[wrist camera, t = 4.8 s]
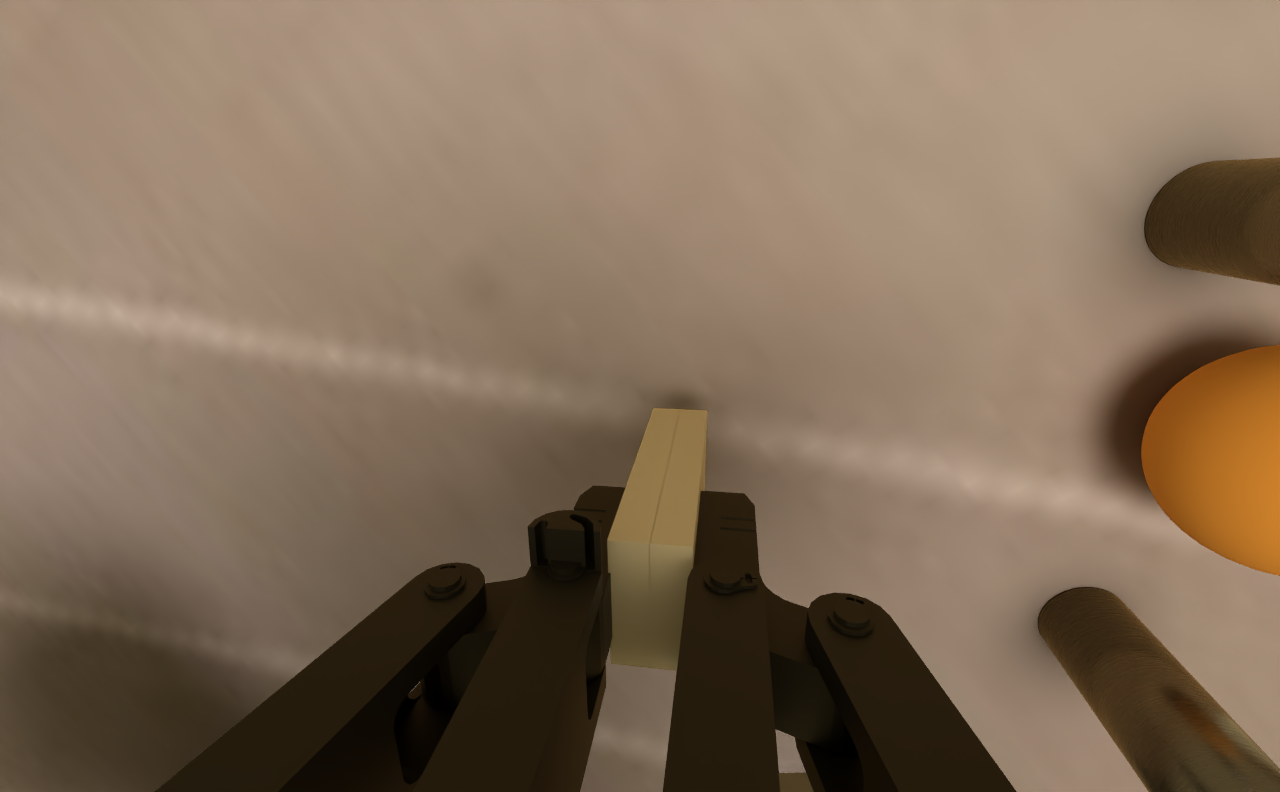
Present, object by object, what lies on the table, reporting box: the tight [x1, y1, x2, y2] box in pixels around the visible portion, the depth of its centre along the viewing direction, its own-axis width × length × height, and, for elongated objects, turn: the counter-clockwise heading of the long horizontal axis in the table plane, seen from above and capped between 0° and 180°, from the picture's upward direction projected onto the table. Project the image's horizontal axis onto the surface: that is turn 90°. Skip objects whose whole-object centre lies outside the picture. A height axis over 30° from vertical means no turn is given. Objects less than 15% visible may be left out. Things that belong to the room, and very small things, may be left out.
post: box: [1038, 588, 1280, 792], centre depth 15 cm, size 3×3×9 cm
